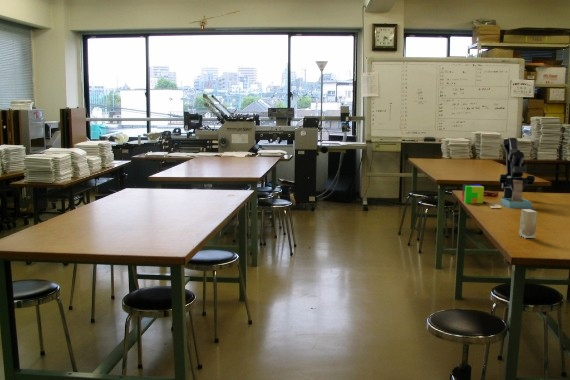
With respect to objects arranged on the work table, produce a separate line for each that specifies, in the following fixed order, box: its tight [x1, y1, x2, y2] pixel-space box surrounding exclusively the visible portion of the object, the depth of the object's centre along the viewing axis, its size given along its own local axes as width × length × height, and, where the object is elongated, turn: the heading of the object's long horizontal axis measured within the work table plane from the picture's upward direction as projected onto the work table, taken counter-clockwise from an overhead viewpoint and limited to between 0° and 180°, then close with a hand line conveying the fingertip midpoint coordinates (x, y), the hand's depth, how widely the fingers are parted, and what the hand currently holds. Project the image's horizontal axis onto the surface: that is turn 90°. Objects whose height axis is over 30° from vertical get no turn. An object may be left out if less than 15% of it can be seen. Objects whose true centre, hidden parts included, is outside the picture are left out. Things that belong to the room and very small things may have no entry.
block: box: [512, 180, 523, 202], centre depth 323 cm, size 4×4×12 cm
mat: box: [496, 202, 537, 210], centre depth 324 cm, size 18×16×1 cm
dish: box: [500, 197, 533, 208], centre depth 324 cm, size 13×13×3 cm
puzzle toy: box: [461, 183, 485, 205], centre depth 336 cm, size 10×10×10 cm
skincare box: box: [518, 209, 538, 239], centre depth 245 cm, size 6×4×12 cm
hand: (517, 191), depth 322 cm, fingers closed on block, 4 cm apart
